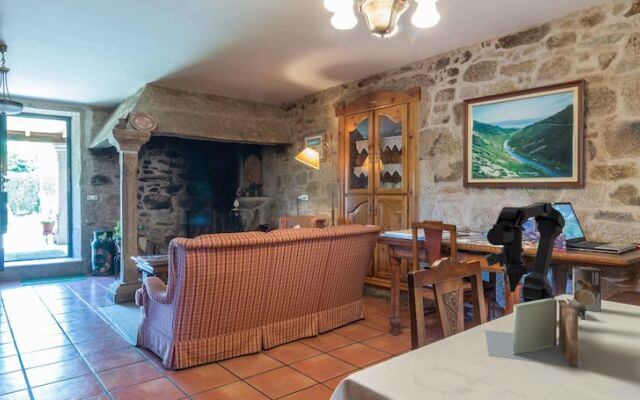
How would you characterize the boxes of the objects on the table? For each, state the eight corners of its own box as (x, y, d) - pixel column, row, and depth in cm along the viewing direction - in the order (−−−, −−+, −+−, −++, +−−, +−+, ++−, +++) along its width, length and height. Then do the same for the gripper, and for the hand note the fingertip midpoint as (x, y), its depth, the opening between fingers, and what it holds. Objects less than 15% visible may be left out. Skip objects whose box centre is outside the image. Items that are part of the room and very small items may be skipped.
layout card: (485, 331, 134) (485, 329, 134) (563, 339, 127) (563, 338, 127) (488, 357, 112) (488, 355, 112) (583, 369, 105) (583, 367, 105)
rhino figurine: (575, 311, 159) (575, 295, 159) (588, 321, 146) (588, 304, 146) (563, 310, 160) (563, 295, 160) (575, 320, 147) (575, 303, 147)
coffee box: (599, 308, 163) (599, 267, 163) (601, 312, 157) (601, 270, 157) (572, 305, 167) (572, 266, 167) (573, 309, 161) (573, 268, 161)
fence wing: (511, 353, 114) (512, 304, 114) (552, 342, 122) (552, 297, 122) (517, 355, 112) (517, 306, 112) (557, 344, 121) (558, 298, 121)
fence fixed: (557, 346, 120) (558, 298, 120) (564, 346, 120) (565, 298, 119) (570, 366, 106) (571, 312, 105) (578, 367, 105) (579, 313, 105)
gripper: (483, 241, 147) (483, 285, 147) (489, 245, 129) (488, 295, 129) (517, 243, 144) (517, 287, 143) (528, 247, 126) (528, 298, 125)
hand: (512, 292), depth 135 cm, fingers closed
